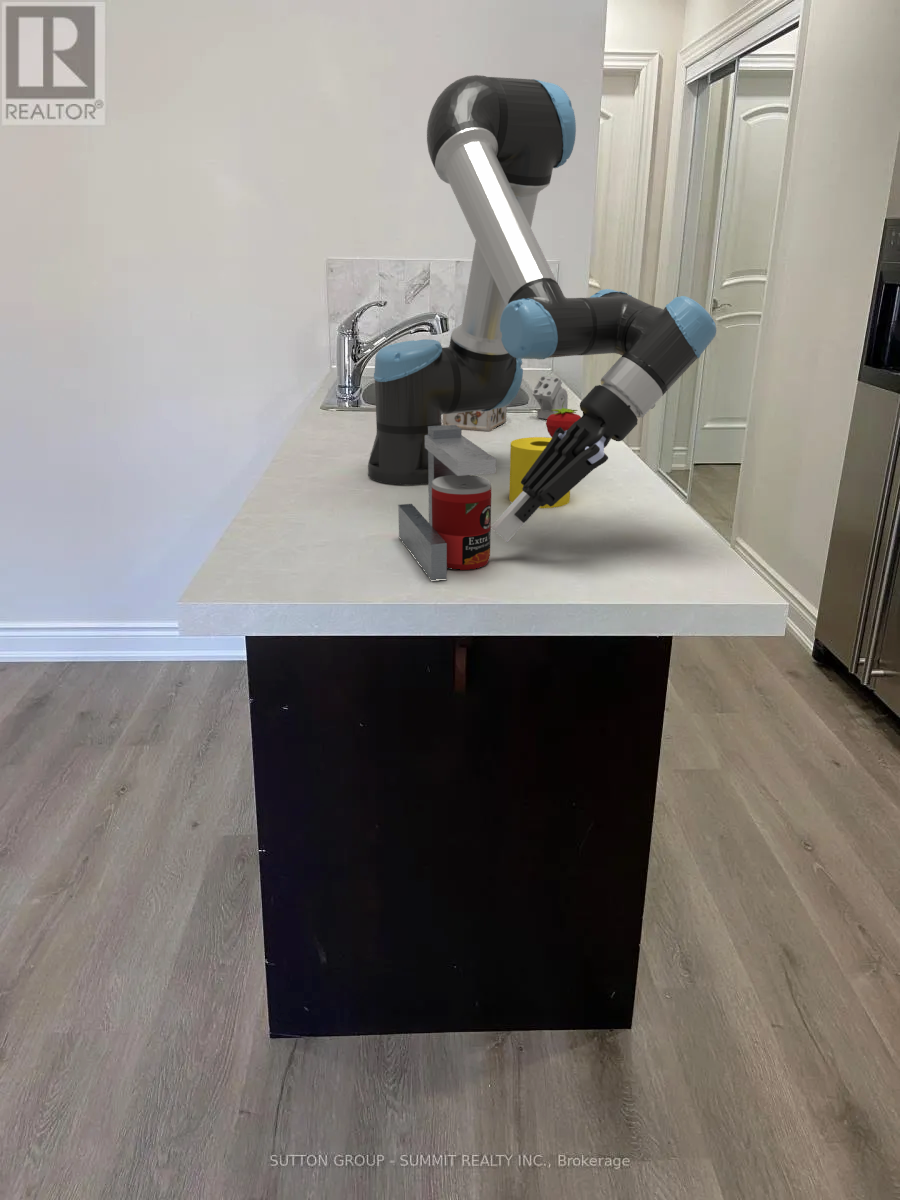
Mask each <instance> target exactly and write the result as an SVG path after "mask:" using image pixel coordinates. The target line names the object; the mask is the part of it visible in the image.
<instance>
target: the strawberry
mask: <svg viewBox="0 0 900 1200" xmlns="http://www.w3.org/2000/svg"><path fill="white" fill-rule="evenodd" d="M564 402H565V401H564ZM563 404H564V403H563ZM552 411H557V413H555V414H551V415H550V416H549V417H548V418H547V419H546V421H545V426H546V429H547V432H548V434H549V436H550V438H552V437H553V435H554V433H555V431H556V430H557V429H558V428H559V427H561V428H562V429H563V430H564V431H566V430H568V429H569V428H570V427H571V426H572V424H573V423H575V422H576V421H577V420H579V419H580V418H581V417H582V416H581V415H579V414H577V411H579V410H578V409H572V408H567V409H565V408H563V405H562V409H555V410H552Z"/></svg>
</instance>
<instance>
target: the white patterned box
mask: <svg viewBox="0 0 900 1200" xmlns="http://www.w3.org/2000/svg"><path fill="white" fill-rule="evenodd" d="M507 406H508V405H506V406H505V407H502V408H497V409H492V410H490V411H471V412H461V413H451V414H442V425H457V426H458V427H459V428H461V429H462V430H463V429H465V430H464V431H477V432H491V431H492V429H493V430H494V429H496V428H498V427H500V426H501V425H504V424H505V423H507V409H508V408H507ZM503 423H504V424H503ZM499 425H500V426H499ZM497 426H498V427H497ZM495 427H496V428H495Z"/></svg>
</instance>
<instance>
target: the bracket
mask: <svg viewBox="0 0 900 1200" xmlns="http://www.w3.org/2000/svg"><path fill="white" fill-rule="evenodd" d="M462 431H463V429H461V428H459V427H458V426H457V425H443V424H441V426H428V435H425V448H426V449H427V450H428V481H429V483H428V520H427V519H426V518H425V517H424V516H423V514H422V513H420V511H419V510H418V508H416V506H415V505H414V504H413V503H404V504H403V503H402V504H398V505H397V507H398V538H399V537H400V538H401V540H402V541H403V543H404V544H405V545H406V546H407V548H408V549H409V550H410V551H411V553H412V554H413V555H414V557H415V558H416V560H417V561H418V562H419V564H420V565H421V566H422V568H423V569H424V570H425V572H426V573H427V575H428V576H429V577H430V579H431V580H436V579H447V576H448V575H447V573H448V571H447V570H448V568H447V543H446V542H445V541H444V539H443V538H442V537H441V536H440V535H439V534H438V533H437V532H436V530H435V529H434V528H433V527H432V481H433V480H434V479H436V478H438V477H442V476H447V475H457V476H462V475H473V476H477V475H489V474H496V473H497V459H496V457H494V456H492V455H491V454H489V453H488V452H486V451H485V450H484V449H482V448H481V447H480V446H478V445H477V444H475V443H473V442H472V441H471V440H469V438H466V437H465V436H463V434H462ZM401 540H400V541H401ZM402 541H401V542H402ZM403 543H402V544H403ZM404 544H403V545H404ZM405 545H404V546H405ZM407 548H406V549H407ZM408 549H407V550H408ZM411 553H410V554H411ZM414 557H413V558H414ZM416 560H415V561H416ZM419 564H418V565H419ZM422 568H421V569H422ZM425 572H424V573H425ZM427 575H426V576H427ZM428 576H427V577H428ZM430 579H429V580H430ZM431 580H430V581H431Z"/></svg>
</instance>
